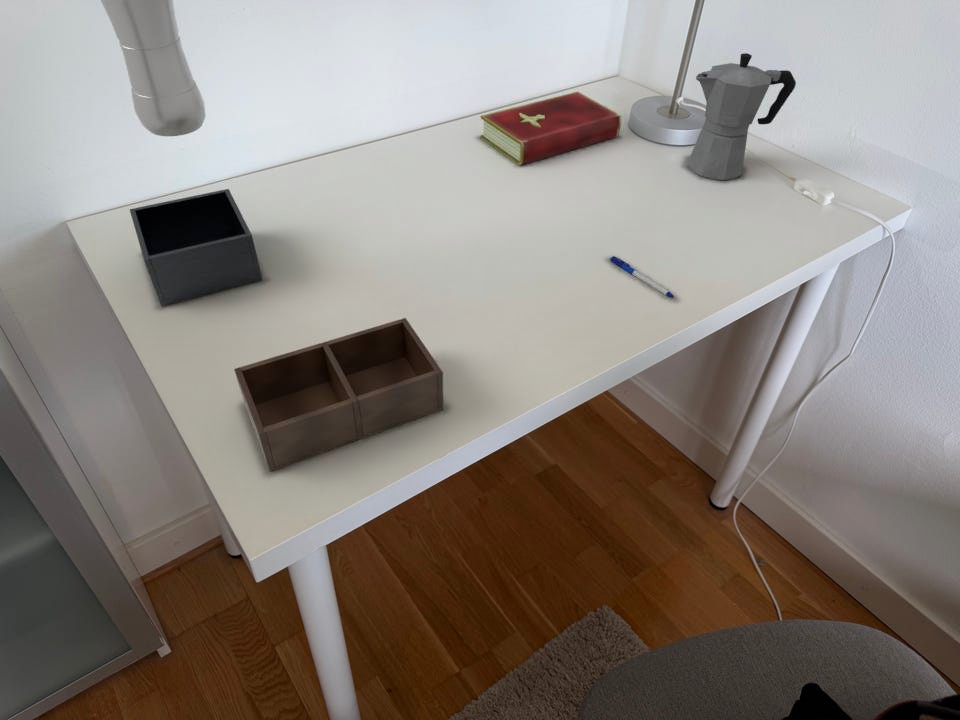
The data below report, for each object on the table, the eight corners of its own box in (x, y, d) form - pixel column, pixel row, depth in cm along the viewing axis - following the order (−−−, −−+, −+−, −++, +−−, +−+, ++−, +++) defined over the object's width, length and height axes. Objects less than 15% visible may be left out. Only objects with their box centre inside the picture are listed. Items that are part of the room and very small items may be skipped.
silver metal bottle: (198, 145, 69) (134, -87, 56) (132, 143, 69) (51, -90, 56) (218, 118, 74) (164, -103, 60) (156, 115, 74) (87, -105, 60)
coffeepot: (682, 181, 109) (711, 65, 96) (667, 154, 115) (693, 42, 103) (777, 181, 109) (818, 66, 97) (757, 154, 116) (793, 43, 104)
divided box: (269, 471, 65) (258, 434, 61) (245, 406, 71) (233, 368, 67) (443, 409, 71) (443, 372, 68) (407, 354, 77) (405, 317, 74)
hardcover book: (618, 137, 120) (622, 114, 117) (520, 166, 111) (522, 142, 108) (575, 112, 127) (578, 89, 124) (480, 138, 118) (480, 114, 115)
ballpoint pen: (607, 262, 92) (609, 255, 91) (612, 259, 93) (613, 253, 92) (670, 299, 86) (672, 293, 86) (675, 297, 87) (676, 290, 86)
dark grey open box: (161, 306, 82) (143, 259, 78) (145, 254, 90) (129, 209, 86) (262, 280, 87) (251, 234, 82) (239, 233, 95) (228, 188, 90)
